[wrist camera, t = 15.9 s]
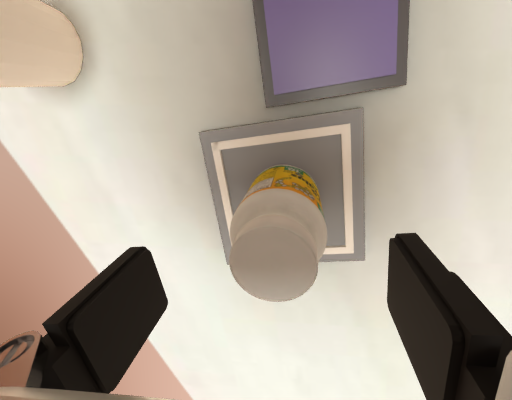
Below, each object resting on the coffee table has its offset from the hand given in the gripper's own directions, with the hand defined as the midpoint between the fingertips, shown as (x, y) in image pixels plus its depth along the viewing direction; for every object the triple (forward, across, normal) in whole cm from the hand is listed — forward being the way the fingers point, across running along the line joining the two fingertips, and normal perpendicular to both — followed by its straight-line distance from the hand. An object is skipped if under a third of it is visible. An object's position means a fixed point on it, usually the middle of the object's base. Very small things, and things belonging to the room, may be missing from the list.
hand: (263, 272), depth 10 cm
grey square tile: (+11, 0, +1) cm, 11 cm away
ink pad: (+12, -4, -11) cm, 17 cm away
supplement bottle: (+11, 0, +1) cm, 11 cm away
